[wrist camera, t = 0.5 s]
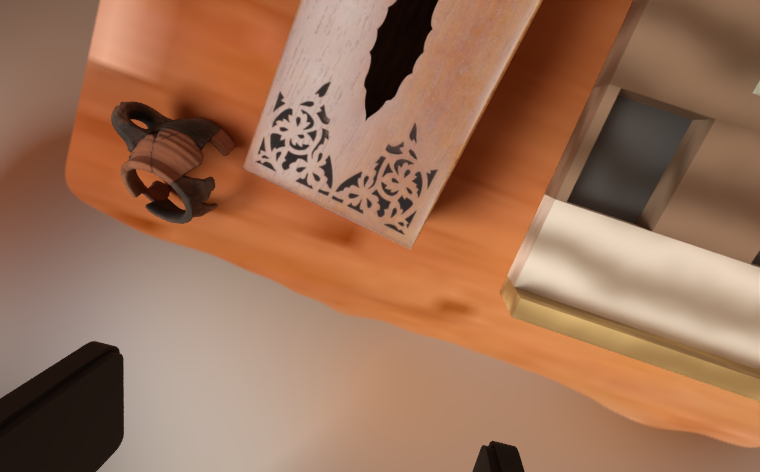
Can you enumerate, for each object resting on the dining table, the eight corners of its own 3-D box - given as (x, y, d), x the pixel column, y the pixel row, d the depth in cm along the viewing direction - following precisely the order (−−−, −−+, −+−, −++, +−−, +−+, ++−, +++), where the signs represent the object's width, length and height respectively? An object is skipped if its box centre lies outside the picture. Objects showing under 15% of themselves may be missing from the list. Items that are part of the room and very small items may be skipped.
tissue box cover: (397, -128, 31) (385, -246, 21) (553, -49, 31) (611, -130, 21) (287, 159, 38) (242, 168, 28) (413, 220, 38) (411, 250, 29)
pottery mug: (263, 161, 39) (215, 211, 33) (223, 195, 45) (176, 242, 39) (165, 63, 34) (90, 101, 28) (134, 116, 40) (67, 156, 34)
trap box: (657, -52, 30) (707, -91, 25) (984, 53, 29) (1107, 35, 24) (499, 292, 39) (511, 317, 34) (746, 375, 39) (797, 414, 33)
